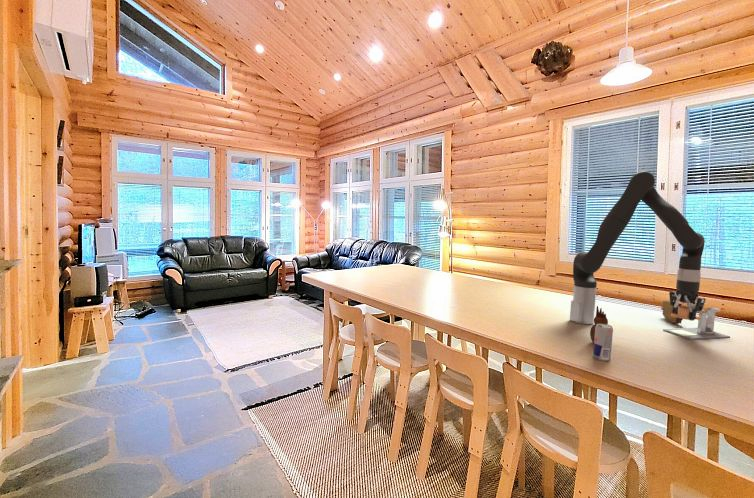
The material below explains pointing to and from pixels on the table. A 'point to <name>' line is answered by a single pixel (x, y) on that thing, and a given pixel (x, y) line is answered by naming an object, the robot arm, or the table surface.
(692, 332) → the board
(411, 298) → the table surface
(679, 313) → the cap
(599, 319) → the wooden figurine
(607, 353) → the energy drink
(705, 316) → the white irregular piece
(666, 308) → the wooden carving
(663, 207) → the robot arm
